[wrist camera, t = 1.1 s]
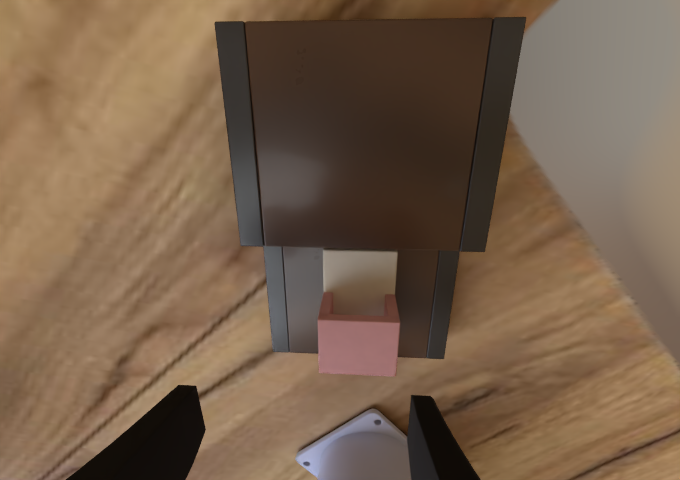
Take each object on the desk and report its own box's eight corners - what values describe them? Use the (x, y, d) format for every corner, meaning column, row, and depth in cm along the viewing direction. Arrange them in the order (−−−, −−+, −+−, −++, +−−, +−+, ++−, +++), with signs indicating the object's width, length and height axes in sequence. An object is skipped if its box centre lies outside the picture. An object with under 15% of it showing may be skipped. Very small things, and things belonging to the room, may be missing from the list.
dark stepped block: (436, 337, 20) (458, 402, 16) (280, 331, 21) (257, 392, 16) (475, 47, 15) (527, 16, 10) (258, 49, 15) (213, 21, 11)
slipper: (324, 242, 16) (315, 272, 13) (395, 243, 16) (404, 274, 13) (326, 339, 19) (319, 384, 15) (389, 341, 18) (395, 388, 15)
